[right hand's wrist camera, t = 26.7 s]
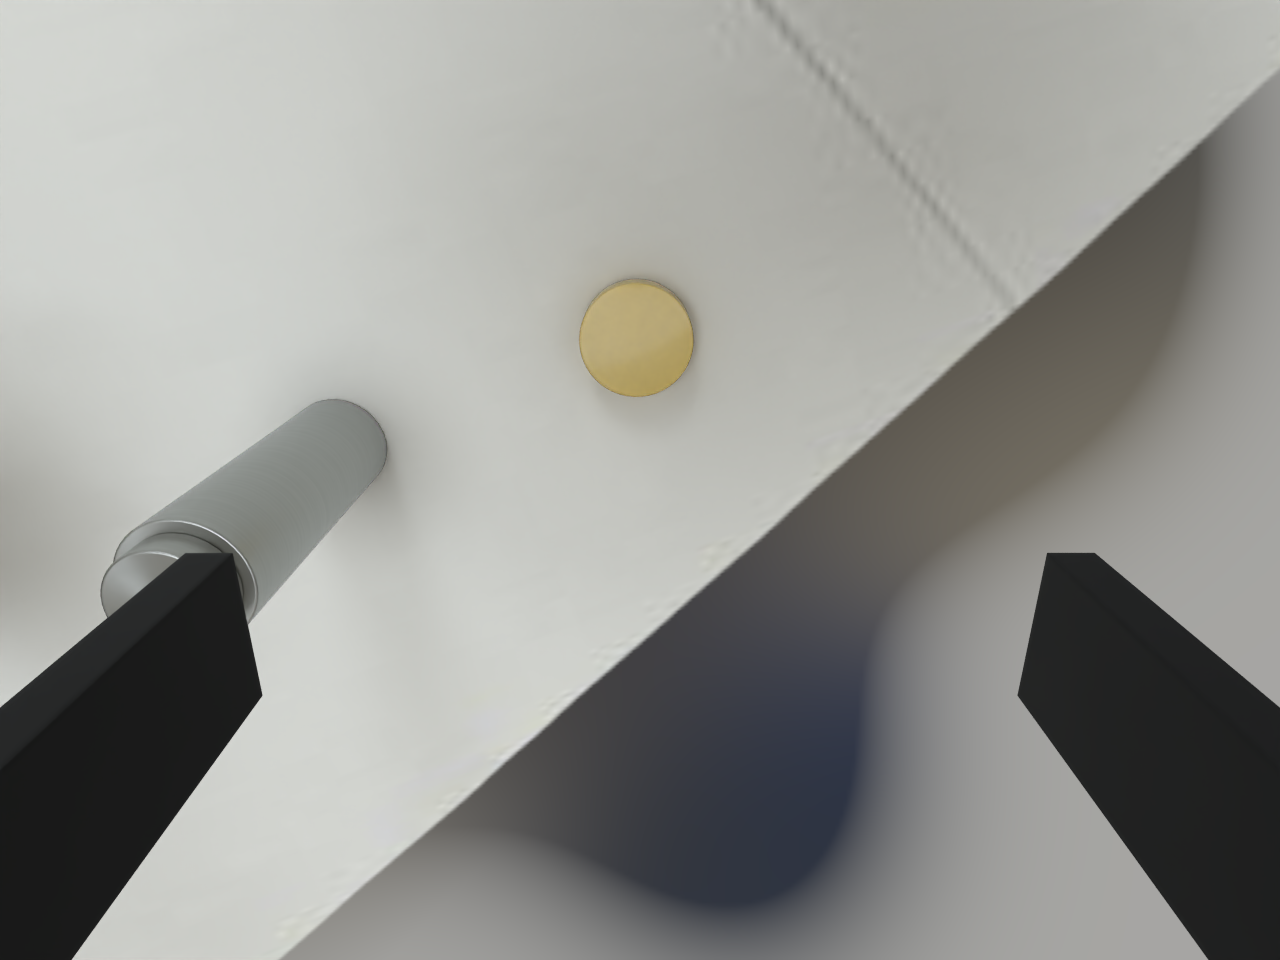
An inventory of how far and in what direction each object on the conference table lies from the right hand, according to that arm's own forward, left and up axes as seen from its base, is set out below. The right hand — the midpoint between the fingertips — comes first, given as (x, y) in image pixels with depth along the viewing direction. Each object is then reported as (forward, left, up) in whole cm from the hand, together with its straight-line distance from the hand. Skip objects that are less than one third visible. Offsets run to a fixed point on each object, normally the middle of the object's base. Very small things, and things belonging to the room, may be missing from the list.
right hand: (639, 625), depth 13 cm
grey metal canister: (+15, +6, -27) cm, 31 cm away
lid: (0, 0, -25) cm, 25 cm away
